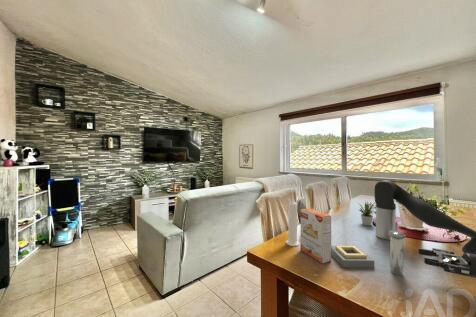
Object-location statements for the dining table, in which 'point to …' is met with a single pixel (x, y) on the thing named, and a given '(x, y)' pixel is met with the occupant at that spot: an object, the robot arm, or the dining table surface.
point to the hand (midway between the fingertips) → (421, 255)
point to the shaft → (396, 252)
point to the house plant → (367, 214)
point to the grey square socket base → (351, 257)
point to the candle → (292, 224)
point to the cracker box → (316, 234)
